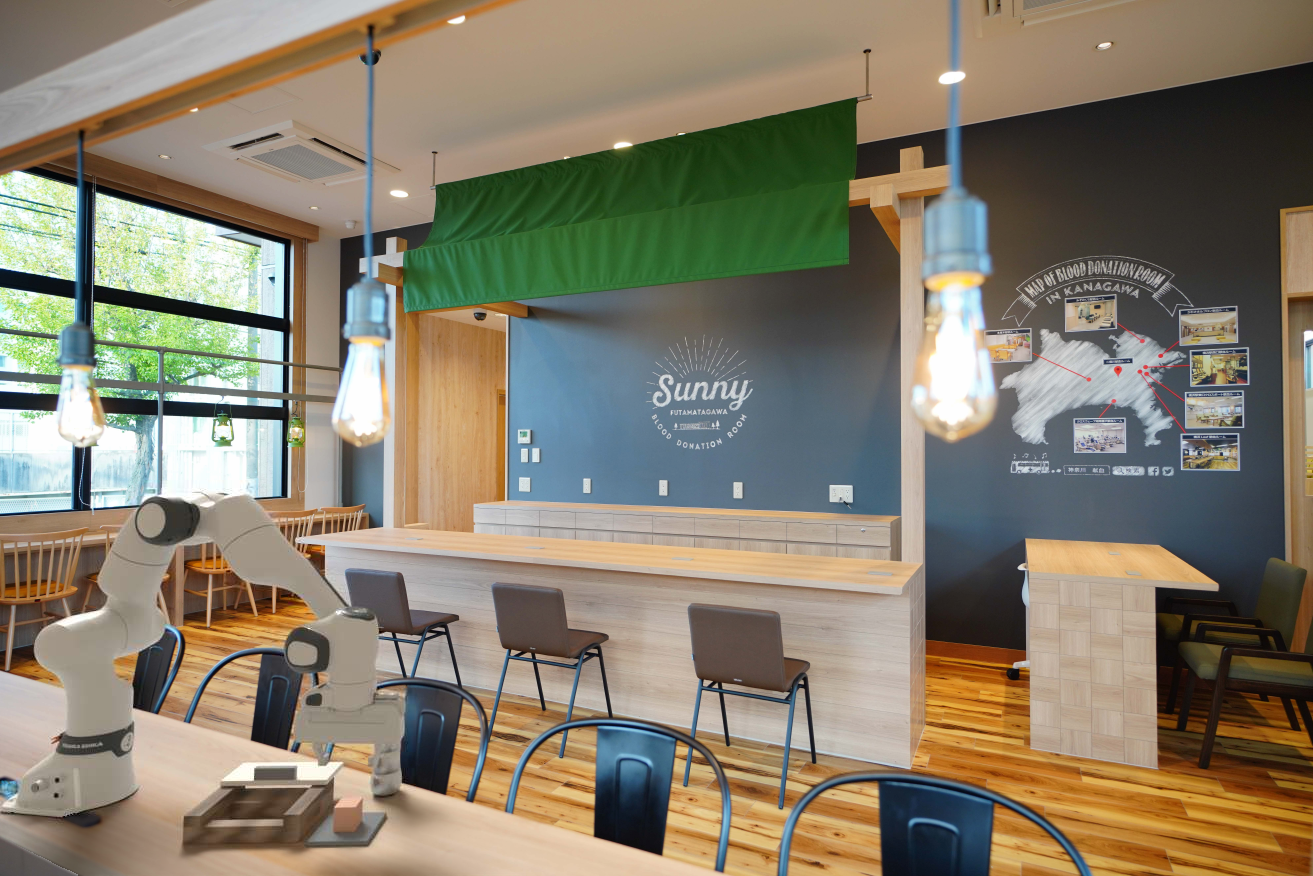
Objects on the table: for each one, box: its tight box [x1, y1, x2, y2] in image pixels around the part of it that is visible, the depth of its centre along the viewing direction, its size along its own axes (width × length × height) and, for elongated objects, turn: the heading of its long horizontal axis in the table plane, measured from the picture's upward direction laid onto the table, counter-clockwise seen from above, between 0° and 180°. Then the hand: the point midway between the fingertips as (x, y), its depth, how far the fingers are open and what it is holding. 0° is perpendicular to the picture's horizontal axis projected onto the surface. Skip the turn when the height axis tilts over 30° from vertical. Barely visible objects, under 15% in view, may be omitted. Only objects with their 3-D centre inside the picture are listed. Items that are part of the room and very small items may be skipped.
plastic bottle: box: [369, 739, 403, 797], centre depth 152 cm, size 6×7×20 cm
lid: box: [219, 761, 345, 787], centre depth 147 cm, size 21×9×3 cm, turn 93°
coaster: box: [306, 811, 388, 847], centre depth 136 cm, size 11×11×1 cm
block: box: [333, 797, 364, 832], centre depth 136 cm, size 4×4×4 cm
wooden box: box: [182, 777, 335, 845], centre depth 139 cm, size 21×16×5 cm
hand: (348, 765), depth 136 cm, fingers open, 8 cm apart
